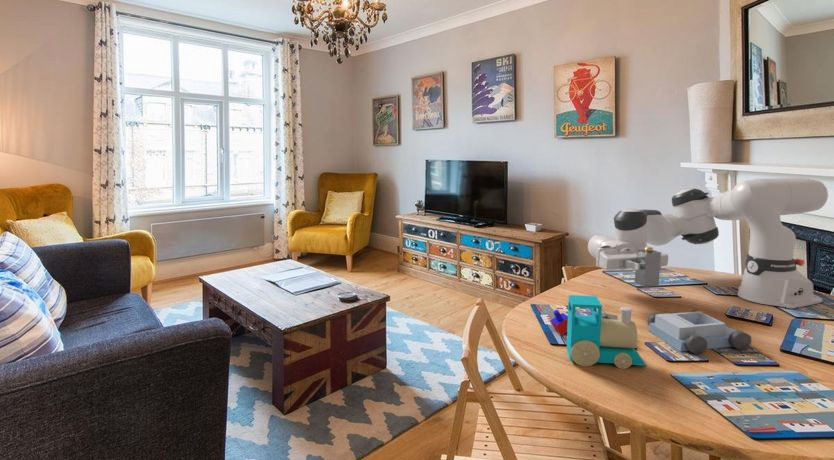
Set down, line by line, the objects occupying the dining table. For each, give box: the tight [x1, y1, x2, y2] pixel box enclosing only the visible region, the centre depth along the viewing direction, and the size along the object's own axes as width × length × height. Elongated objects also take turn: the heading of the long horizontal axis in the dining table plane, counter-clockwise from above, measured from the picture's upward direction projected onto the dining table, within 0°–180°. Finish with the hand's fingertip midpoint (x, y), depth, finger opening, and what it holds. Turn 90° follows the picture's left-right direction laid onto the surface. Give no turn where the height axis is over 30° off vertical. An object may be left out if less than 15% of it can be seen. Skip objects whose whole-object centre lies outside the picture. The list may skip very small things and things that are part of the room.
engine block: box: [634, 246, 661, 288], centre depth 127 cm, size 4×4×11 cm
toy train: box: [566, 294, 647, 370], centre depth 102 cm, size 8×17×15 cm, turn 78°
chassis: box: [646, 309, 752, 355], centre depth 113 cm, size 18×16×6 cm
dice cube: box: [601, 312, 618, 320], centre depth 117 cm, size 5×5×5 cm
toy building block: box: [550, 309, 568, 336], centre depth 119 cm, size 4×4×8 cm
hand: (649, 266), depth 126 cm, fingers closed on engine block, 4 cm apart
